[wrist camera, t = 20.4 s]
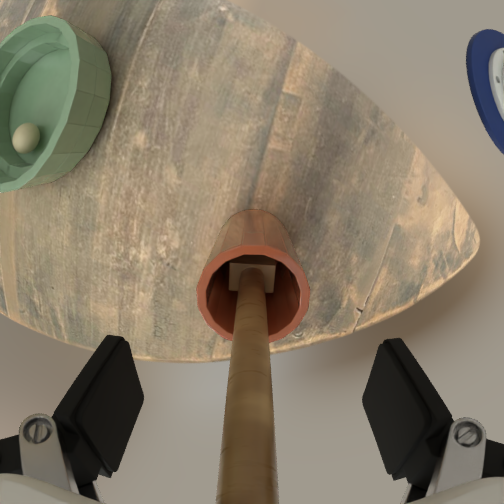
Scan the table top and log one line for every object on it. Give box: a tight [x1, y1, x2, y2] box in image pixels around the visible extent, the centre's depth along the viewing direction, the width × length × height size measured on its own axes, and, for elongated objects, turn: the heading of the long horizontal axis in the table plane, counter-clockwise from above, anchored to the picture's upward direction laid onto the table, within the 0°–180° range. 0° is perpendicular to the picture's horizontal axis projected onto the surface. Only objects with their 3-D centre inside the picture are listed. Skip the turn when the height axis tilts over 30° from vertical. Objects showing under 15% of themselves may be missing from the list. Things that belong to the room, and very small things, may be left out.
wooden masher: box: [216, 255, 279, 504], centre depth 14 cm, size 3×2×20 cm, turn 87°
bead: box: [12, 123, 40, 154], centre depth 19 cm, size 3×3×3 cm
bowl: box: [0, 15, 111, 193], centre depth 17 cm, size 16×16×6 cm
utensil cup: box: [196, 209, 310, 343], centre depth 19 cm, size 6×6×10 cm
